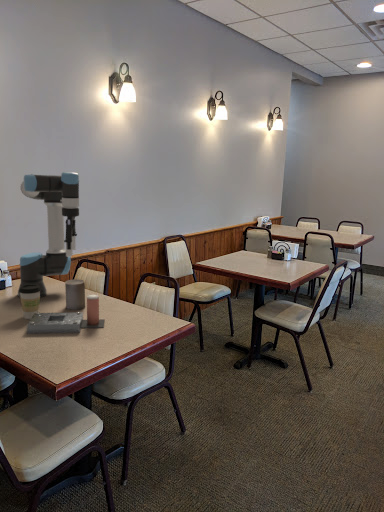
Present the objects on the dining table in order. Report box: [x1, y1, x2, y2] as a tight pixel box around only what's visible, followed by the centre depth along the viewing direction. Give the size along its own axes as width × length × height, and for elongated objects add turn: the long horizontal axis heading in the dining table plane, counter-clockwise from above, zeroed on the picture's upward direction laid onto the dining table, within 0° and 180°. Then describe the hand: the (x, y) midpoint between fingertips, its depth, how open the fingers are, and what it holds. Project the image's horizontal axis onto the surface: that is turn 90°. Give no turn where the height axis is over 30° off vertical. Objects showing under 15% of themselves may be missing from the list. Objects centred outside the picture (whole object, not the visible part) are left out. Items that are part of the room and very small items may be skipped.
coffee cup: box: [18, 284, 41, 320], centre depth 195 cm, size 10×10×15 cm
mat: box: [81, 318, 105, 329], centre depth 191 cm, size 10×10×1 cm
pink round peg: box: [86, 294, 100, 325], centre depth 189 cm, size 5×5×13 cm
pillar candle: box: [64, 278, 86, 311], centre depth 212 cm, size 10×10×15 cm
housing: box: [26, 311, 84, 335], centre depth 185 cm, size 15×22×5 cm
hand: (71, 252), depth 190 cm, fingers open, 13 cm apart
